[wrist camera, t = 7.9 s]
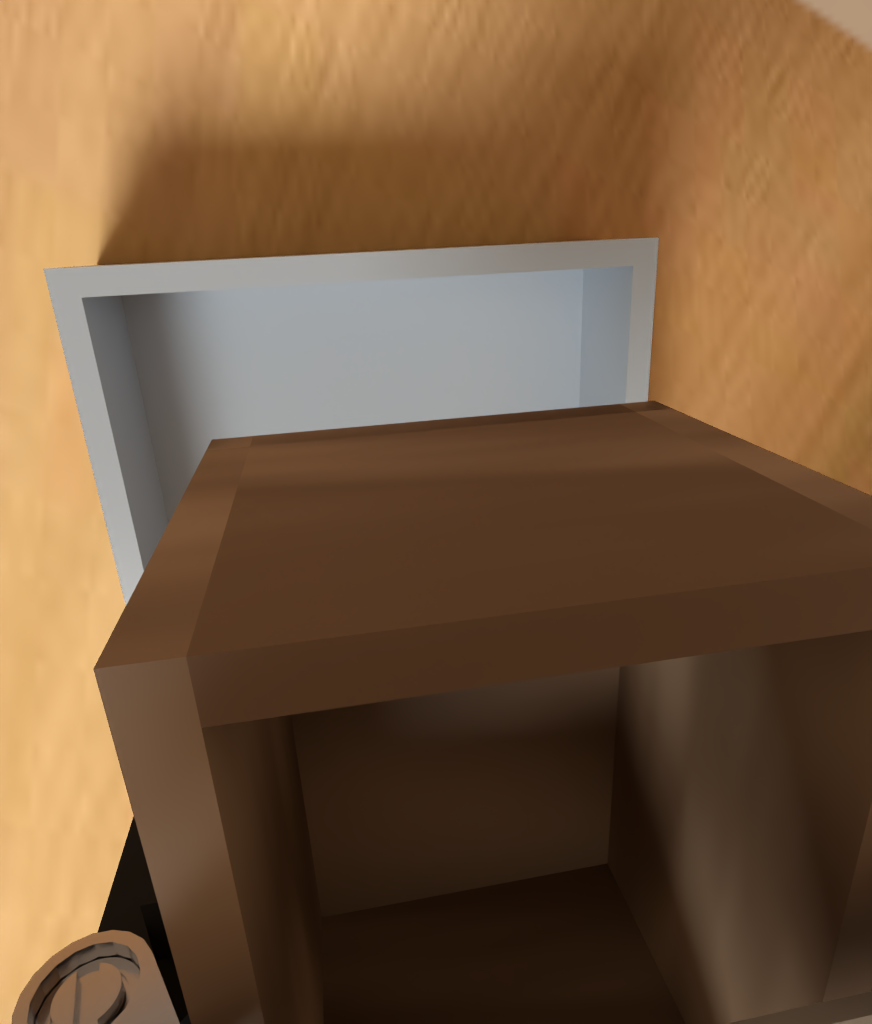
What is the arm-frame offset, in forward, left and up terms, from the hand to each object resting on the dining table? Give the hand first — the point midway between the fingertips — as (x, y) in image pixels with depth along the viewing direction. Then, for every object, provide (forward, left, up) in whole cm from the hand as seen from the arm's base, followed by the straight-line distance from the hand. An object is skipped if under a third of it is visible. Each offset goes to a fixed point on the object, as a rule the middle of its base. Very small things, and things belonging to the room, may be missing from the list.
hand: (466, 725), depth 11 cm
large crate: (0, 0, -17) cm, 17 cm away
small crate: (0, 0, -1) cm, 1 cm away
